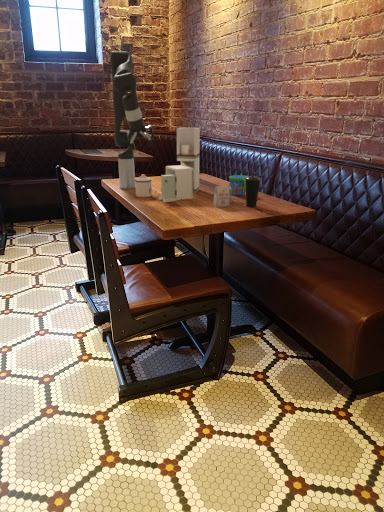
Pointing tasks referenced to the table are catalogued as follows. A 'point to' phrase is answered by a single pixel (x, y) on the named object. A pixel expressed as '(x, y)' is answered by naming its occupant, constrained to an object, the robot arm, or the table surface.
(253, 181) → the drinking cup
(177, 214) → the table surface
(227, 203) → the white milk carton
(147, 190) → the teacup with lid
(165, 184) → the door
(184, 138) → the display case
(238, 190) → the snack cup
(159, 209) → the table surface
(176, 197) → the cabinet
